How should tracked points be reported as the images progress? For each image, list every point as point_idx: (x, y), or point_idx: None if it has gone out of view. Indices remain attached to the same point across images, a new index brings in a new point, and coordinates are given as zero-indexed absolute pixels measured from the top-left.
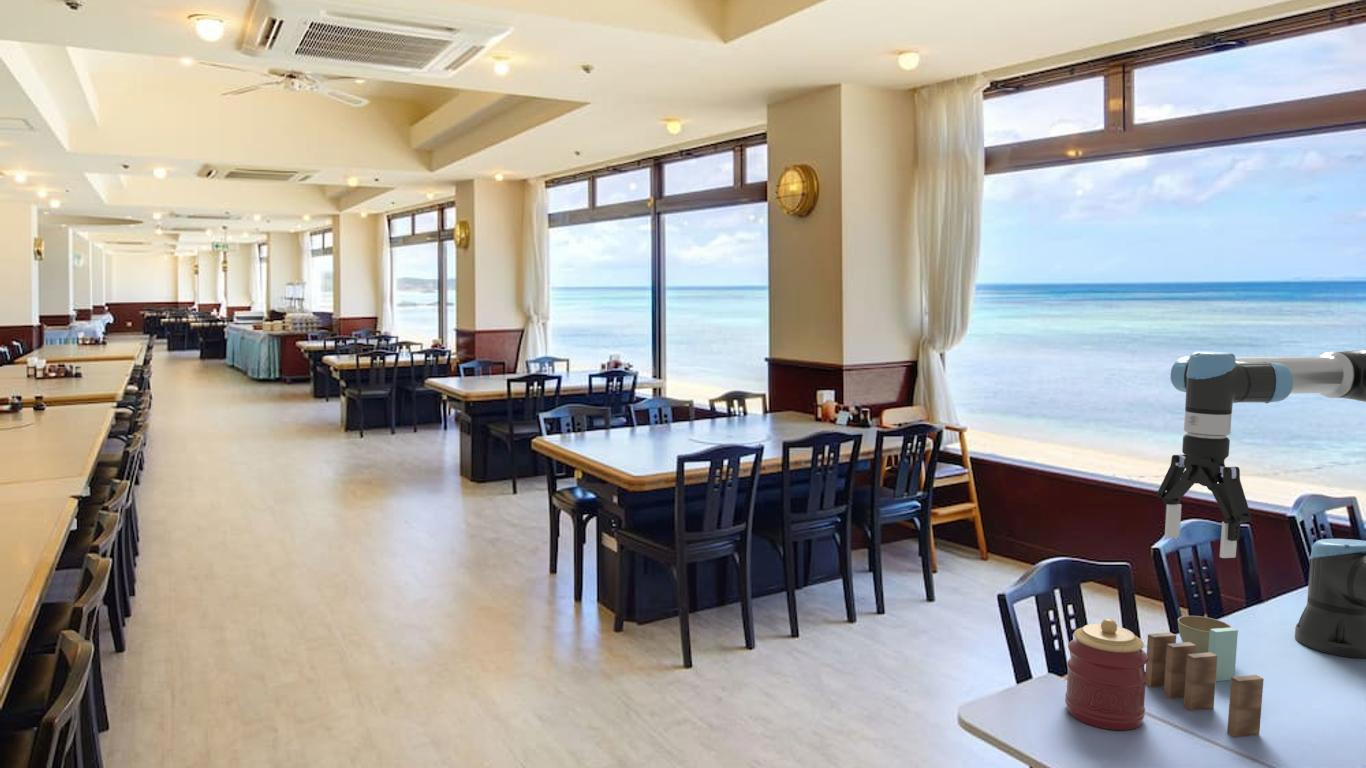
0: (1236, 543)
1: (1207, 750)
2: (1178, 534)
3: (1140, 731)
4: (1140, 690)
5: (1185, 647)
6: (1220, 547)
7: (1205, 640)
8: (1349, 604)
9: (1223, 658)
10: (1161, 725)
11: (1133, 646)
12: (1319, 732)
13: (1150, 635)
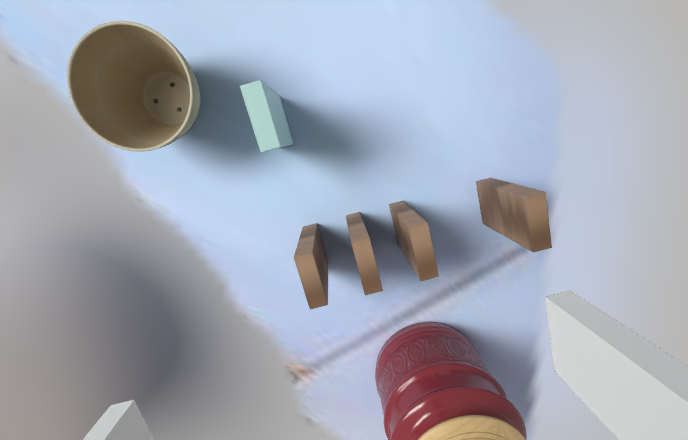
0: (650, 343)
1: (529, 276)
2: (126, 422)
3: (473, 337)
4: (491, 375)
5: (375, 262)
6: (599, 417)
7: (195, 116)
8: None
9: (282, 122)
10: (457, 303)
11: None
12: (487, 71)
13: (317, 307)
